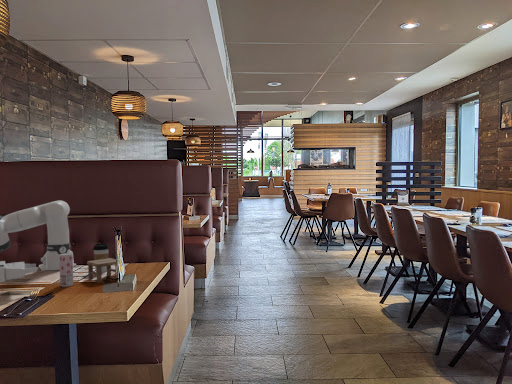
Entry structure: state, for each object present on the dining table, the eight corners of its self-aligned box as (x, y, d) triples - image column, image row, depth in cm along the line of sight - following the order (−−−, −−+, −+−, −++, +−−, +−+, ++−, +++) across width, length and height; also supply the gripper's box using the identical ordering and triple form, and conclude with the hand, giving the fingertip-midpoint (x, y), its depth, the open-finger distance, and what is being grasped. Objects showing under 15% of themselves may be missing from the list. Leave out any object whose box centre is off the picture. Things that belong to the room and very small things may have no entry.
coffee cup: (112, 269, 223) (111, 243, 222) (105, 273, 214) (104, 245, 214) (98, 269, 223) (97, 243, 223) (90, 273, 215) (89, 245, 215)
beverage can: (71, 283, 193) (71, 252, 193) (74, 285, 188) (73, 254, 188) (59, 285, 190) (58, 253, 189) (61, 287, 185) (60, 255, 185)
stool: (87, 279, 201) (87, 261, 201) (110, 274, 210) (109, 257, 210) (98, 282, 193) (97, 264, 193) (121, 278, 202) (120, 260, 201)
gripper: (1, 274, 184) (35, 270, 191) (0, 283, 167) (37, 278, 174) (1, 260, 184) (35, 257, 191) (-1, 268, 166) (37, 264, 173)
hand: (36, 267), depth 182 cm, fingers open, 8 cm apart
